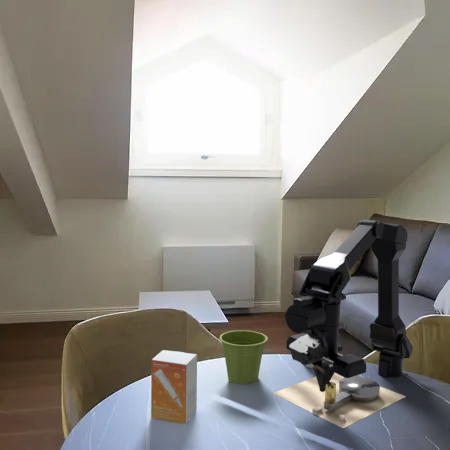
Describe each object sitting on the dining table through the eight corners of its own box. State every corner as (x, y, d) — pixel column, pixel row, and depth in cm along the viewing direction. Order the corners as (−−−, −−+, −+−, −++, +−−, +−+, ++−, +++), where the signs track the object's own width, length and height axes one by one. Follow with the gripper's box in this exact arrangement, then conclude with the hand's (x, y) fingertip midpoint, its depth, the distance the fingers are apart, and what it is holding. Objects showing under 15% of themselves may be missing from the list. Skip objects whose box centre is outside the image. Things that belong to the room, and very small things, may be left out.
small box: (150, 419, 105) (150, 359, 104) (163, 405, 111) (163, 348, 110) (186, 425, 103) (186, 364, 101) (197, 411, 109) (197, 353, 107)
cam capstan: (352, 381, 122) (353, 359, 121) (386, 393, 115) (388, 370, 114) (309, 403, 110) (310, 378, 109) (345, 418, 103) (346, 392, 103)
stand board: (335, 372, 130) (336, 366, 130) (405, 400, 115) (406, 393, 115) (272, 397, 116) (272, 389, 116) (343, 433, 101) (343, 424, 100)
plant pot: (274, 378, 126) (276, 335, 125) (251, 396, 117) (252, 349, 115) (235, 367, 133) (235, 326, 132) (209, 383, 123) (210, 339, 122)
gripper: (268, 316, 110) (266, 383, 112) (330, 343, 95) (326, 420, 97) (306, 308, 116) (303, 372, 119) (370, 332, 101) (365, 405, 103)
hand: (322, 391), depth 109 cm, fingers closed
